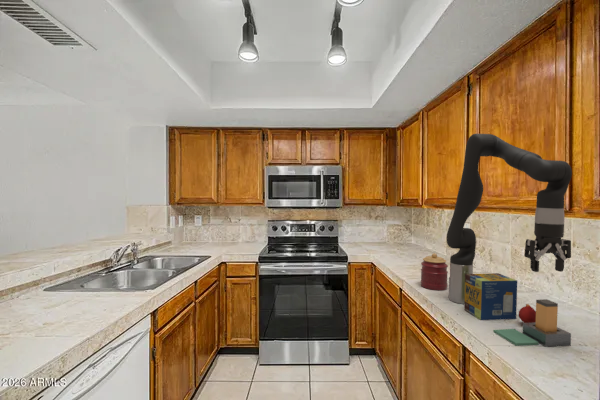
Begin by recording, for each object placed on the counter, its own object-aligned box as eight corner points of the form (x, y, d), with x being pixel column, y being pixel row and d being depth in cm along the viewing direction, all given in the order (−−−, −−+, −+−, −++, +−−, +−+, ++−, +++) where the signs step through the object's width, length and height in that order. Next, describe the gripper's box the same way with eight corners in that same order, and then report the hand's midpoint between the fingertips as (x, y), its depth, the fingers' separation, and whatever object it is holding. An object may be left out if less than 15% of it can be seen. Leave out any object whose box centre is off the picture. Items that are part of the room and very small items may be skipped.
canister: (442, 283, 169) (443, 251, 168) (451, 291, 156) (452, 256, 155) (417, 282, 170) (418, 250, 169) (424, 290, 157) (425, 255, 156)
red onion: (529, 322, 119) (530, 301, 119) (541, 328, 113) (542, 307, 113) (514, 322, 119) (515, 301, 119) (526, 328, 113) (526, 307, 113)
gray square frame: (522, 334, 109) (522, 322, 109) (545, 333, 110) (546, 321, 110) (545, 346, 100) (545, 334, 100) (570, 345, 101) (571, 333, 101)
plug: (535, 337, 107) (536, 299, 106) (545, 336, 107) (546, 299, 107) (545, 342, 103) (546, 303, 102) (556, 342, 103) (557, 303, 103)
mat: (493, 331, 110) (493, 329, 110) (514, 331, 111) (514, 328, 111) (515, 345, 100) (516, 343, 100) (538, 344, 101) (538, 342, 101)
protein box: (463, 310, 131) (464, 273, 130) (497, 309, 132) (498, 273, 132) (480, 320, 120) (481, 280, 120) (517, 319, 122) (518, 280, 121)
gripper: (558, 220, 106) (556, 267, 106) (519, 220, 104) (517, 268, 105) (580, 223, 98) (578, 274, 99) (538, 223, 97) (536, 274, 97)
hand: (546, 271), depth 102 cm, fingers open, 8 cm apart
